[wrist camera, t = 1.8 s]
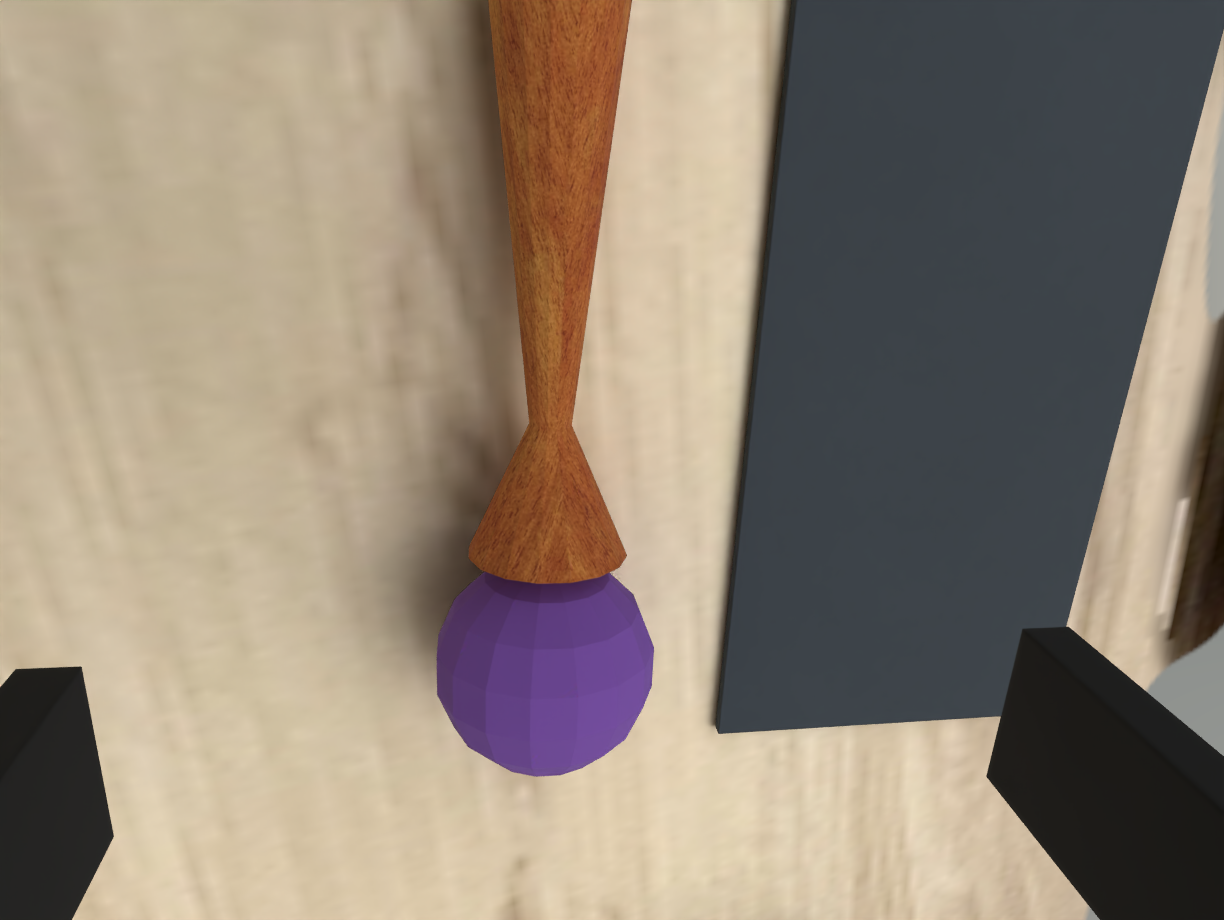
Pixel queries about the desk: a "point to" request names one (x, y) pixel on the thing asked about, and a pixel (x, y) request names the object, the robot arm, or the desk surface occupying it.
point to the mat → (946, 339)
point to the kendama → (549, 428)
